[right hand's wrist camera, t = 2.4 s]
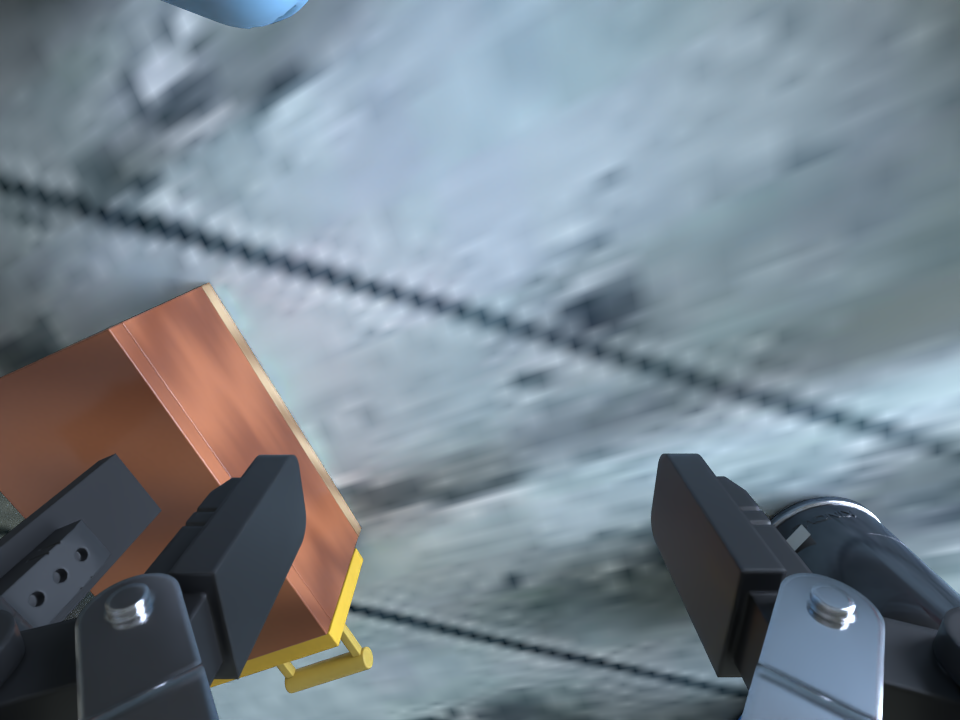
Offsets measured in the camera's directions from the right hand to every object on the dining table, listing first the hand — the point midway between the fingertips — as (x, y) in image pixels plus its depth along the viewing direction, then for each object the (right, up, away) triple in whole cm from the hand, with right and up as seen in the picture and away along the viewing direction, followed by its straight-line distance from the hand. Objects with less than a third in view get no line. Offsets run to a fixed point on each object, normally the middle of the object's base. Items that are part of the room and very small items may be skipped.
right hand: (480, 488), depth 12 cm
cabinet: (-18, -3, +24) cm, 30 cm away
